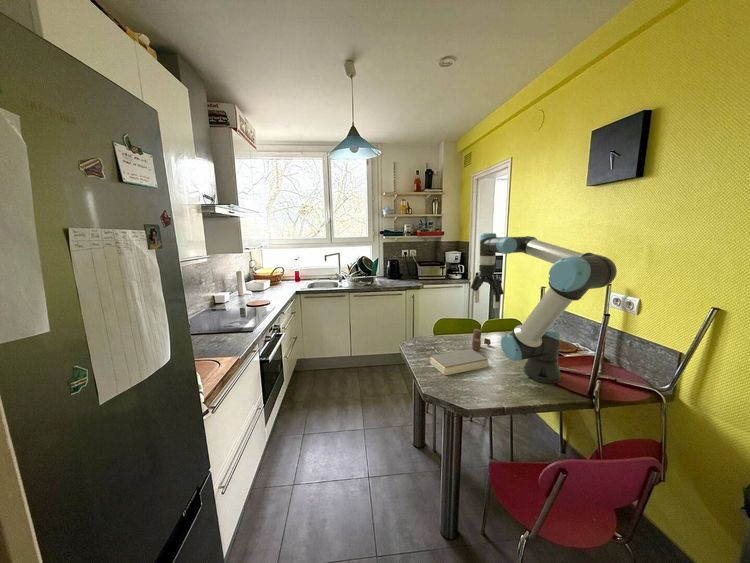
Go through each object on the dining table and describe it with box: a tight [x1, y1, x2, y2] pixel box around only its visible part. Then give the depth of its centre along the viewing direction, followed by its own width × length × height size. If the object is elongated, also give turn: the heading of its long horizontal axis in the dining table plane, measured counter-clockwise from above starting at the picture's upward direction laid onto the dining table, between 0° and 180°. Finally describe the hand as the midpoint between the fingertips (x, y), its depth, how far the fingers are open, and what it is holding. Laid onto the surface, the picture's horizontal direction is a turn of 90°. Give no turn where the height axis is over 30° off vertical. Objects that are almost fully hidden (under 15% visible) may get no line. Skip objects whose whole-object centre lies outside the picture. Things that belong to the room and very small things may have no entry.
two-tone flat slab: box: [429, 348, 489, 376], centre depth 147 cm, size 14×25×4 cm, turn 109°
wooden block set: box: [471, 328, 492, 353], centre depth 166 cm, size 18×9×10 cm, turn 143°
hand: (485, 305), depth 151 cm, fingers open, 13 cm apart
